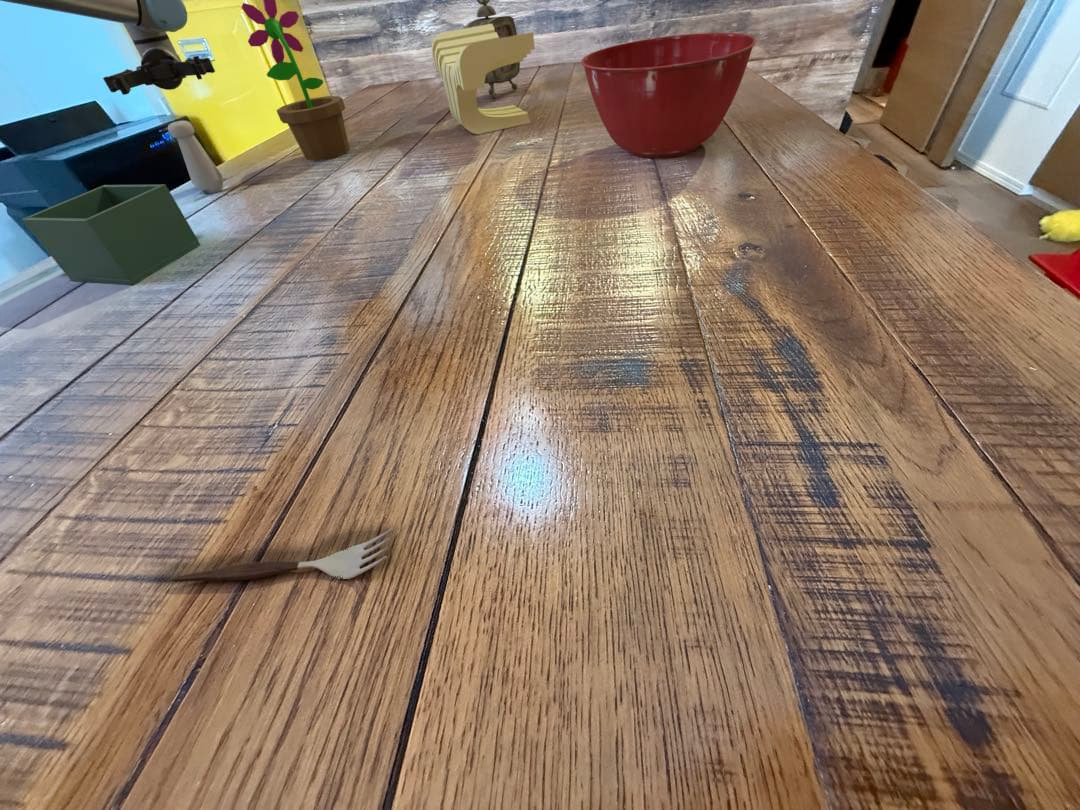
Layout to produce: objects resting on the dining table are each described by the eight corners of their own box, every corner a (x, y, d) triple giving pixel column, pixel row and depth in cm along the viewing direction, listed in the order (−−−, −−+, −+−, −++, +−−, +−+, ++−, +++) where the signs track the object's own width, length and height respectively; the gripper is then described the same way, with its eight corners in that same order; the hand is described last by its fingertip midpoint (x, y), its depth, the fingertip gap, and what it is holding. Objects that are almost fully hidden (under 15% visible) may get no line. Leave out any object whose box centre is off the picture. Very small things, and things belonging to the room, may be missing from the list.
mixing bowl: (574, 176, 89) (567, 72, 78) (596, 129, 109) (593, 41, 99) (746, 169, 82) (764, 54, 72) (736, 120, 102) (749, 25, 92)
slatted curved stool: (445, 119, 132) (427, 35, 120) (503, 106, 135) (492, 23, 123) (474, 145, 110) (455, 46, 98) (542, 130, 113) (533, 32, 101)
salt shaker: (219, 194, 105) (182, 124, 96) (193, 197, 105) (154, 128, 97) (232, 184, 109) (198, 116, 101) (207, 187, 110) (171, 120, 101)
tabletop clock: (496, 101, 140) (478, -15, 124) (470, 101, 144) (449, -12, 128) (523, 88, 149) (510, -22, 132) (498, 89, 153) (482, -19, 136)
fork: (184, 566, 37) (168, 551, 36) (400, 542, 36) (392, 525, 35) (167, 600, 35) (148, 586, 34) (395, 575, 34) (385, 559, 33)
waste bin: (71, 281, 79) (21, 219, 73) (142, 242, 88) (104, 184, 82) (132, 285, 75) (86, 220, 69) (200, 244, 85) (165, 184, 78)
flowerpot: (339, 141, 127) (286, -14, 107) (369, 148, 119) (317, -19, 99) (286, 158, 120) (218, -3, 100) (314, 167, 112) (246, -7, 92)
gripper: (228, 76, 122) (235, 86, 107) (112, 99, 114) (102, 114, 100) (211, 38, 117) (215, 43, 102) (89, 60, 109) (74, 69, 95)
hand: (159, 78), depth 101 cm, fingers open, 13 cm apart
